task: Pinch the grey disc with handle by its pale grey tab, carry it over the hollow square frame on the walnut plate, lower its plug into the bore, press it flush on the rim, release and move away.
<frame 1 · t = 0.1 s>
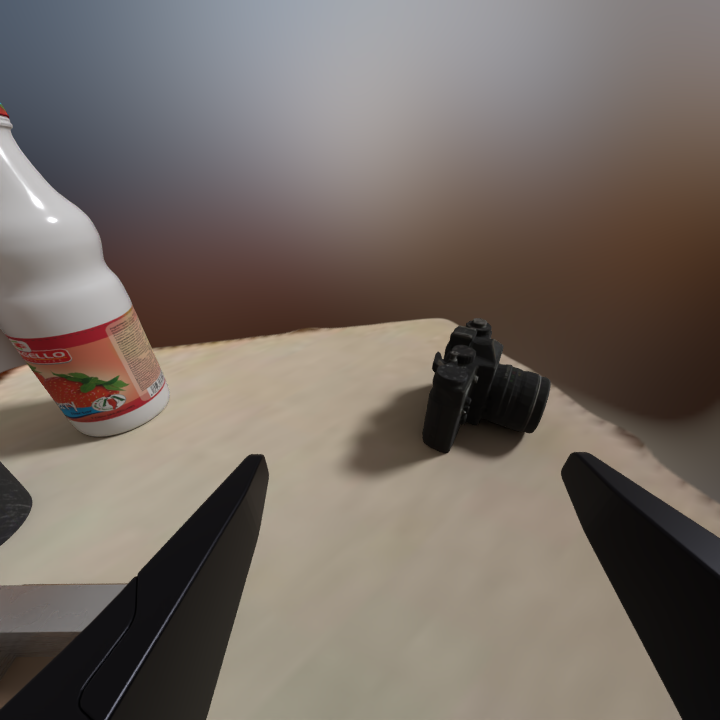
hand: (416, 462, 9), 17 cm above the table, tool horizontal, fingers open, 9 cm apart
fruit juice: (128, 410, 35), on the table
camera: (477, 421, 34), on the table
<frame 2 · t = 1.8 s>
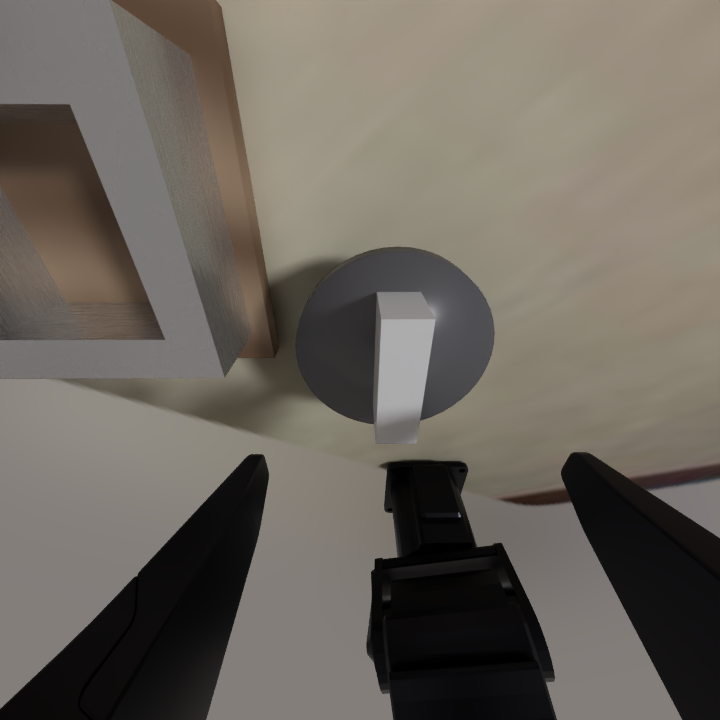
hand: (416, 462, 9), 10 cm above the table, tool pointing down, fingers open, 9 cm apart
walnut plate: (122, 222, 14), on the table
hollow square frame: (67, 234, 11), on the walnut plate, point 3 cm above the table
grey disc with handle: (386, 316, 17), on the table
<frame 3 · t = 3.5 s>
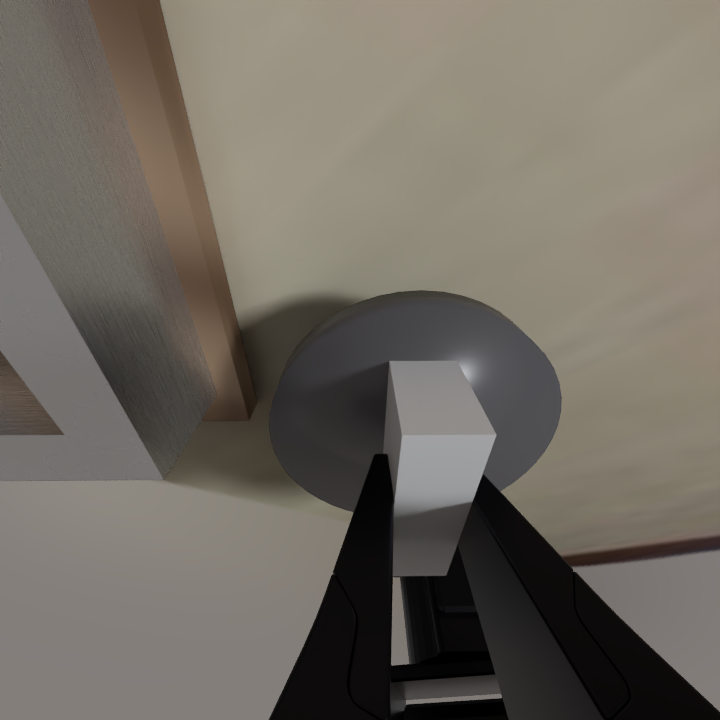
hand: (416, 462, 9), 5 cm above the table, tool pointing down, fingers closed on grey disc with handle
walnut plate: (29, 247, 10), on the table
grey disc with handle: (396, 366, 13), on the table, touching gripper
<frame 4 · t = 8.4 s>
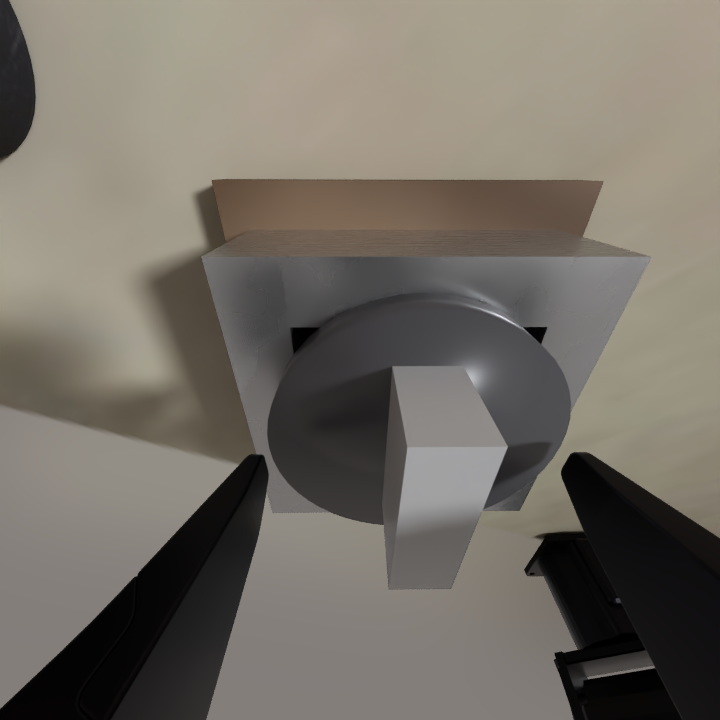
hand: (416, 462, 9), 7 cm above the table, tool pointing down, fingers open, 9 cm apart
walnut plate: (392, 346, 14), on the table
hollow square frame: (400, 385, 12), on the walnut plate, point 3 cm above the table
grey disc with handle: (398, 369, 13), point 2 cm above the table, touching hollow square frame
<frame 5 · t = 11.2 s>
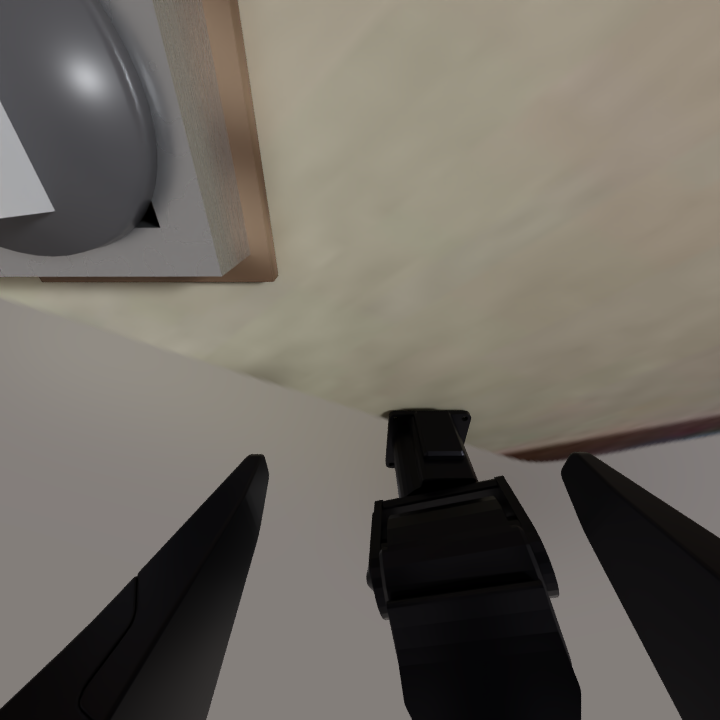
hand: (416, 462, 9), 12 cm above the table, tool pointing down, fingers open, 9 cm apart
walnut plate: (117, 127, 14), on the table
hollow square frame: (60, 116, 11), on the walnut plate, point 3 cm above the table
grey disc with handle: (81, 117, 12), point 2 cm above the table, touching hollow square frame
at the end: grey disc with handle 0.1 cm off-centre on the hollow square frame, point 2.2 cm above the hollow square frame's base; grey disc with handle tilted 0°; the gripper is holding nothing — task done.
